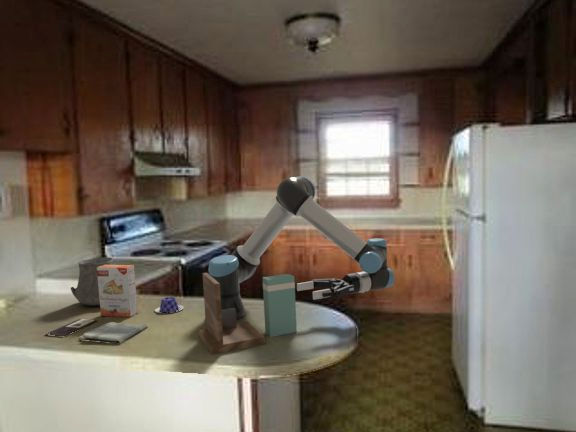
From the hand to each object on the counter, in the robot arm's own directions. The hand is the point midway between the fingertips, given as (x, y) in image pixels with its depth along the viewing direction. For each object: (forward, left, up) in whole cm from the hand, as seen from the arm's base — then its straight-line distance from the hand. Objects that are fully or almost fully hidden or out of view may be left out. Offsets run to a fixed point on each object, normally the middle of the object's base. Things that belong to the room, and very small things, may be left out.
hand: (304, 291), depth 169 cm
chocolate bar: (-90, -1, -14) cm, 92 cm away
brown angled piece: (-25, -13, -13) cm, 31 cm away
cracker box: (-79, +15, -14) cm, 82 cm away
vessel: (-97, +32, -14) cm, 103 cm away
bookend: (-28, -8, -11) cm, 32 cm away
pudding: (-60, +22, -14) cm, 66 cm away
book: (-9, -5, -13) cm, 17 cm away
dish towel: (-70, -7, -14) cm, 72 cm away
